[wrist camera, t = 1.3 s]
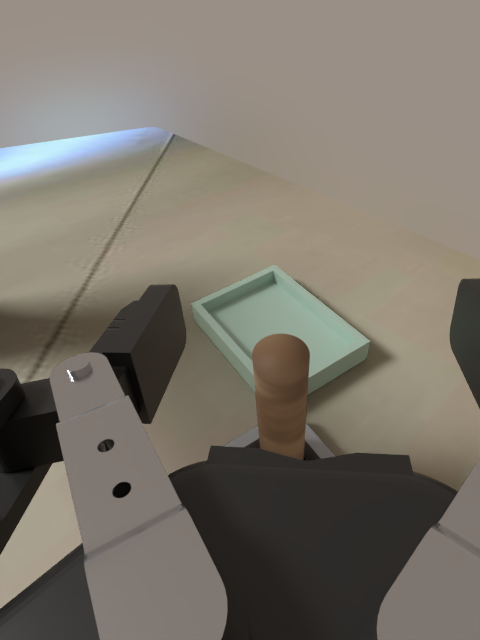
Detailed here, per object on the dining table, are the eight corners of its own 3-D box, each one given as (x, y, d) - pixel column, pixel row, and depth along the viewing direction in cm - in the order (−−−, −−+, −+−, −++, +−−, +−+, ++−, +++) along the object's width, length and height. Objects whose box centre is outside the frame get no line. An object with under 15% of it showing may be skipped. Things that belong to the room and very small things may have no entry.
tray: (194, 320, 46) (190, 303, 44) (275, 281, 50) (274, 264, 48) (274, 415, 37) (273, 398, 35) (366, 358, 40) (370, 341, 39)
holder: (226, 461, 34) (223, 446, 32) (289, 421, 36) (289, 405, 34) (273, 530, 30) (272, 517, 28) (341, 481, 32) (344, 465, 30)
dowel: (254, 466, 33) (241, 349, 24) (286, 445, 35) (286, 325, 25) (278, 499, 31) (274, 386, 22) (311, 476, 32) (322, 358, 23)
